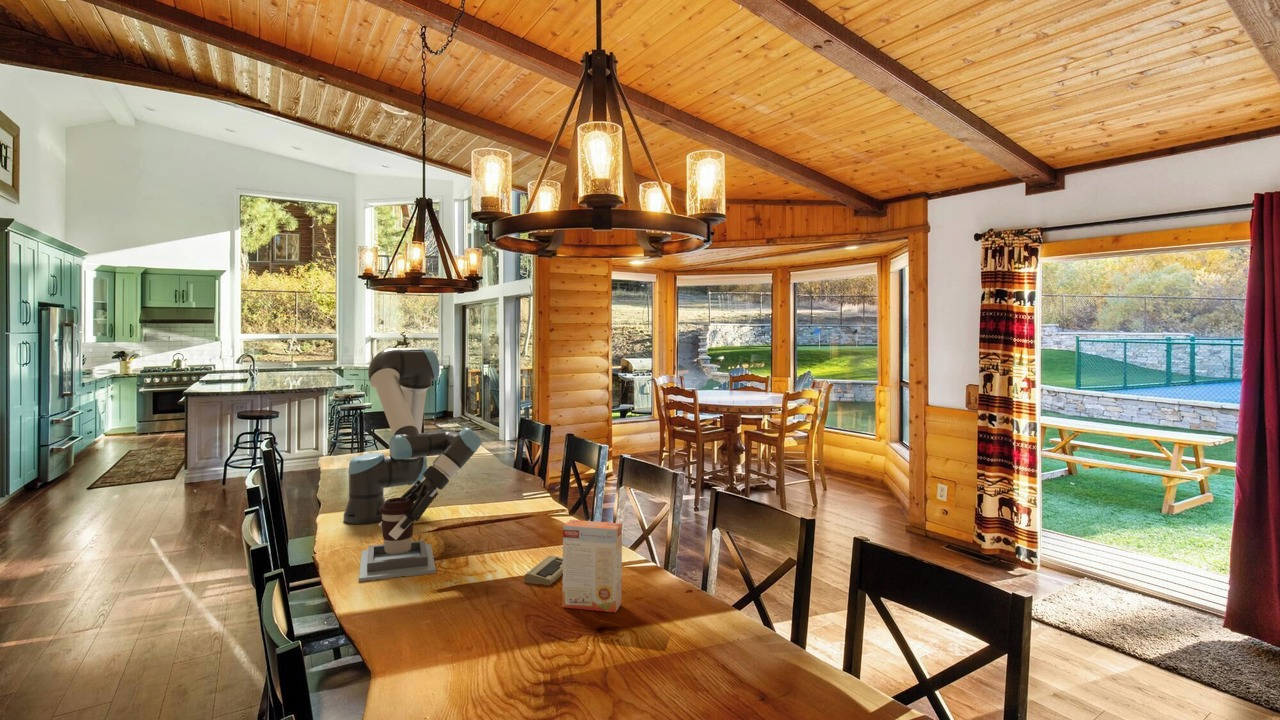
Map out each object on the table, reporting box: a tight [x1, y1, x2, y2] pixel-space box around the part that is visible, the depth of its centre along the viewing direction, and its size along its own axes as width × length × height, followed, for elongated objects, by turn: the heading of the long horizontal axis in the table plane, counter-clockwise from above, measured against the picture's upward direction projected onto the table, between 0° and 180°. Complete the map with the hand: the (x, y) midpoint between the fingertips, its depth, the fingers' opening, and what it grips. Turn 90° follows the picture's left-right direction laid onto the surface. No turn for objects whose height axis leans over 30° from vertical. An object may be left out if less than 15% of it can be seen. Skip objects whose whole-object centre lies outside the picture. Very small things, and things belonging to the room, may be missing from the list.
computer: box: [523, 555, 563, 586], centre depth 179 cm, size 16×8×3 cm, turn 164°
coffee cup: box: [380, 497, 415, 554], centre depth 186 cm, size 10×10×15 cm
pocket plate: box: [358, 539, 437, 582], centre depth 186 cm, size 24×20×4 cm
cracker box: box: [561, 519, 623, 614], centre depth 158 cm, size 14×6×21 cm, turn 77°
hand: (387, 532), depth 184 cm, fingers closed on coffee cup, 10 cm apart
